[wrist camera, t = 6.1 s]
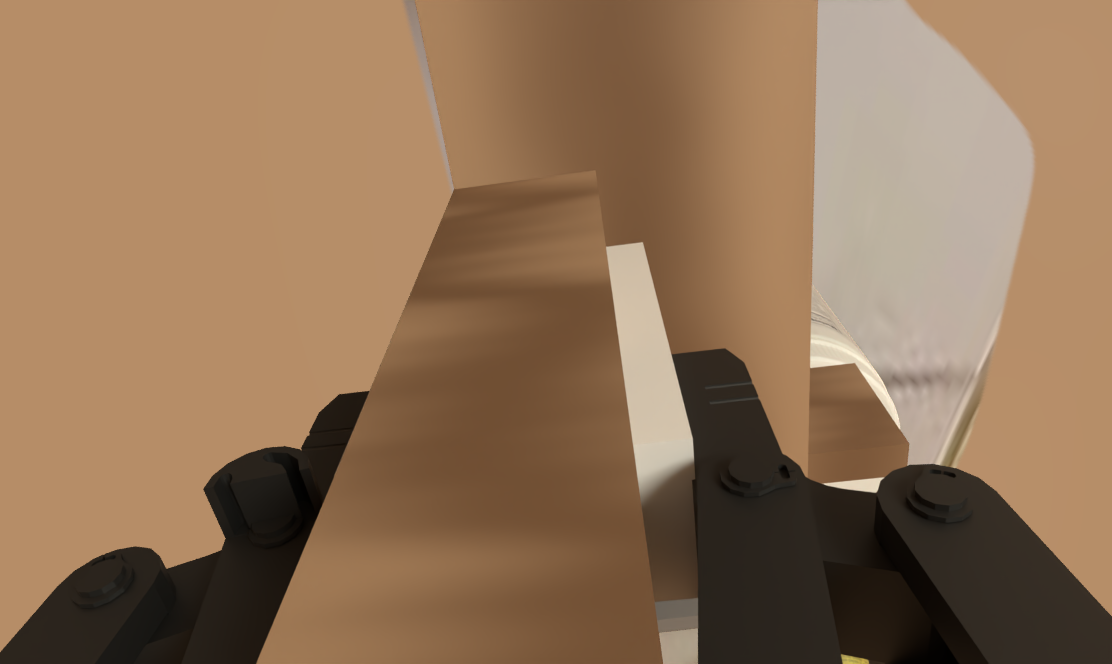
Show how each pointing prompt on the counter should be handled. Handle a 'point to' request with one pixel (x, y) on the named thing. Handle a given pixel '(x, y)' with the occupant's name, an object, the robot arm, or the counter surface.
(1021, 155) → the counter surface
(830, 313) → the supplement tub
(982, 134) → the counter surface
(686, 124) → the wooden bracket
